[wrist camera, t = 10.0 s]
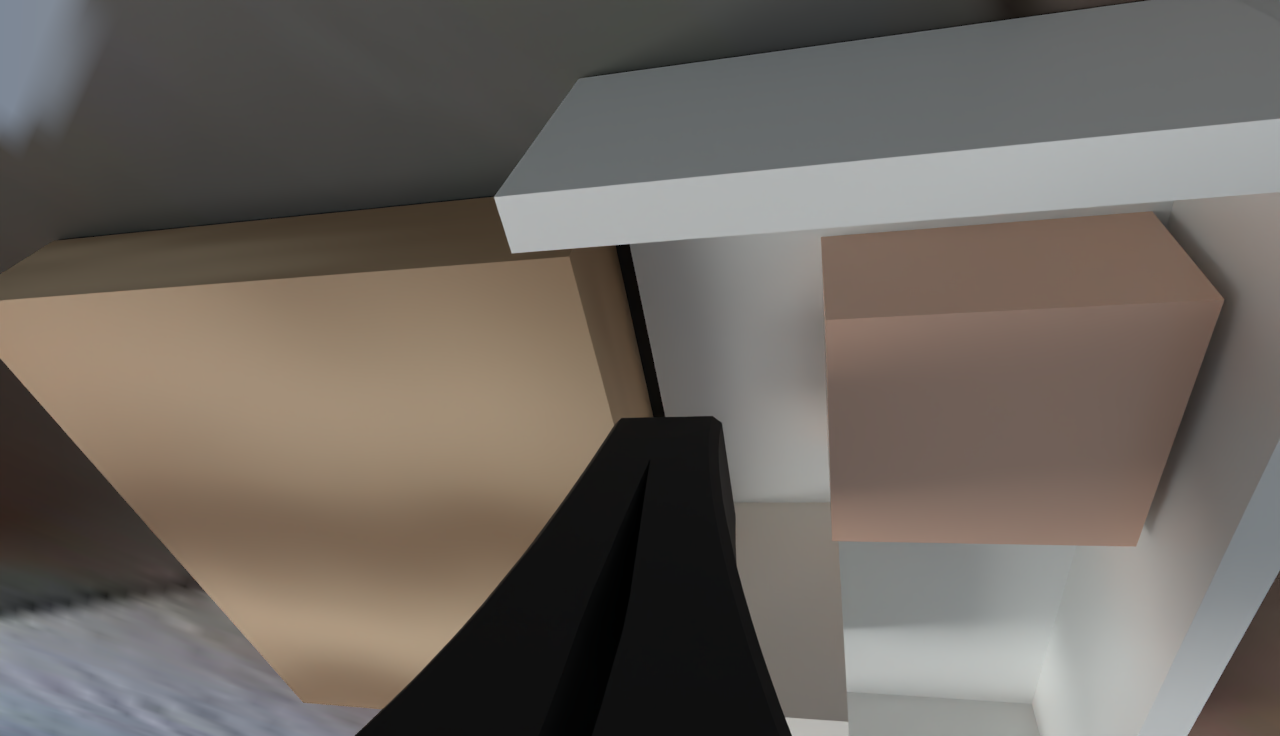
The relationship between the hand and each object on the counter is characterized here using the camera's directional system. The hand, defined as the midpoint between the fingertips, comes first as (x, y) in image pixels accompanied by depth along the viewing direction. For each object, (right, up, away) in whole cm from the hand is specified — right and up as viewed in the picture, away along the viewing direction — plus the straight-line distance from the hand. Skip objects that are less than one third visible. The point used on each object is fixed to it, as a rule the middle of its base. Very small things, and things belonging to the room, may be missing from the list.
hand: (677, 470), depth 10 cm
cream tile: (+1, -4, +3) cm, 5 cm away
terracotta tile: (+4, 0, -1) cm, 4 cm away
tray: (+4, -1, +3) cm, 5 cm away
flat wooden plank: (-5, -1, +5) cm, 7 cm away
